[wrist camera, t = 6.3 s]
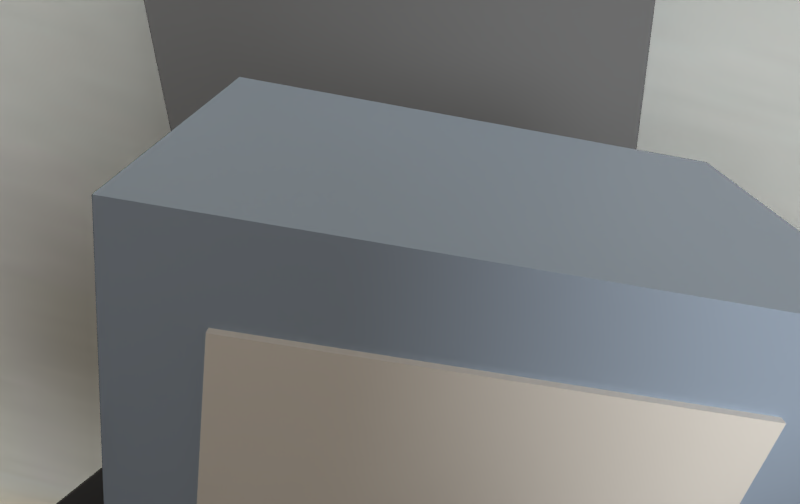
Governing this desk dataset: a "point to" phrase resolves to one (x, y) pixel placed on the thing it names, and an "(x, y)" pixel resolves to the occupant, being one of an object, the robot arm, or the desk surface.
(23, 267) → the desk surface
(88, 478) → the robot arm
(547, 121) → the mat
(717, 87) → the desk surface
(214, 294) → the card deck
